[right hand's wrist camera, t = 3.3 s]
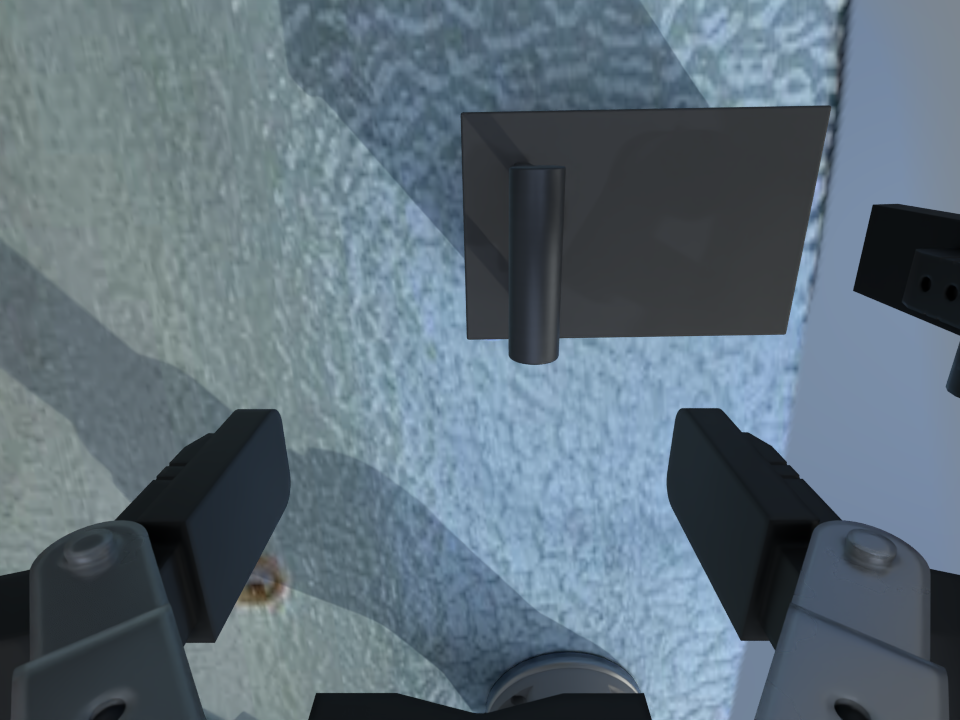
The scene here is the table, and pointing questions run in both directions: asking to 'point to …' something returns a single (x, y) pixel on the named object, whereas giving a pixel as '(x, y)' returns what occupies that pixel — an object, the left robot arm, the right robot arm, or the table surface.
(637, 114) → the lid
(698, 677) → the table surface
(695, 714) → the table surface
